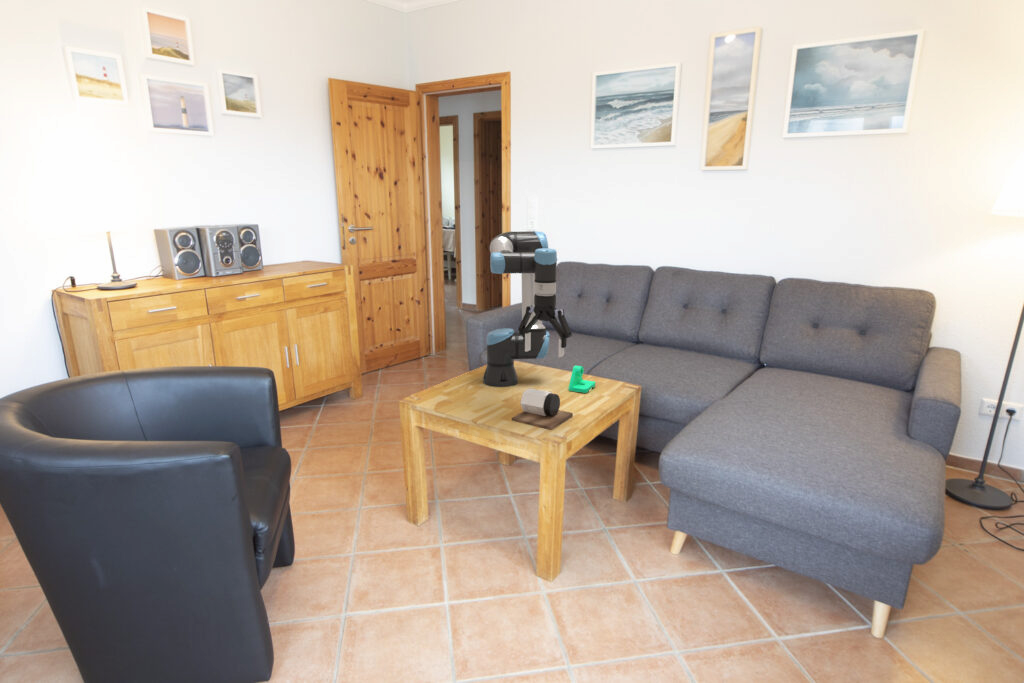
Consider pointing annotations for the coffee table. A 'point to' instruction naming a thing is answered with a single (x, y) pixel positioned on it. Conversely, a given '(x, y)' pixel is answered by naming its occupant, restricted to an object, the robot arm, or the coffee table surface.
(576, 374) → the camera mount
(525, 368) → the coffee table surface
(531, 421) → the plinth
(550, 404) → the jar
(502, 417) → the coffee table surface
